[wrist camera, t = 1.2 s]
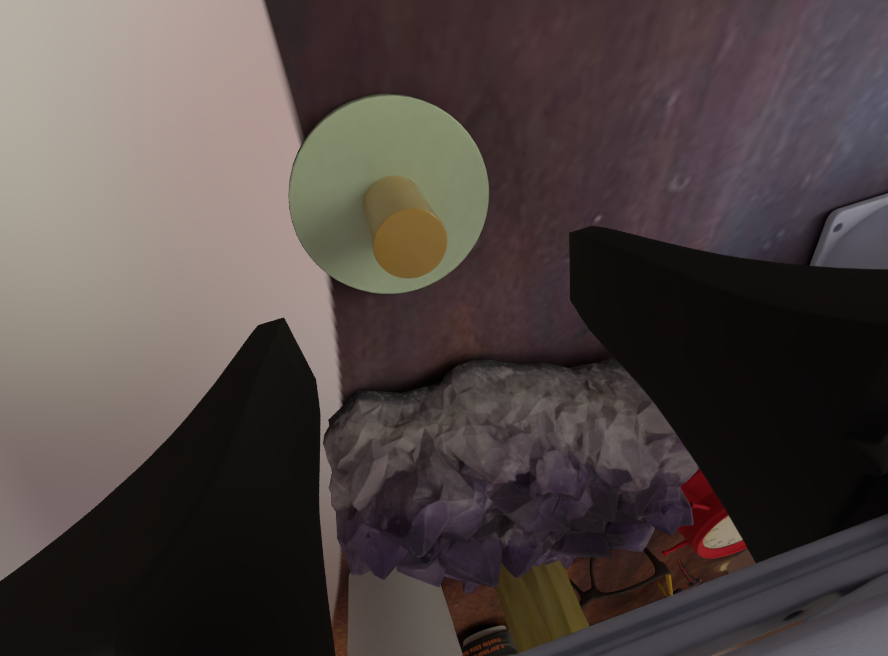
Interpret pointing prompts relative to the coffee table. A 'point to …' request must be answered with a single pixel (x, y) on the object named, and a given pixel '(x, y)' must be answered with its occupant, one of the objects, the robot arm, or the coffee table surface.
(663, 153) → the coffee table surface
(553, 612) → the vase
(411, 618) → the coffee cup
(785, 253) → the coffee table surface
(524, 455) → the geode
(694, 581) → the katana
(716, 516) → the alarm clock
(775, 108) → the coffee table surface
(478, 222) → the lid
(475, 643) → the beverage can
